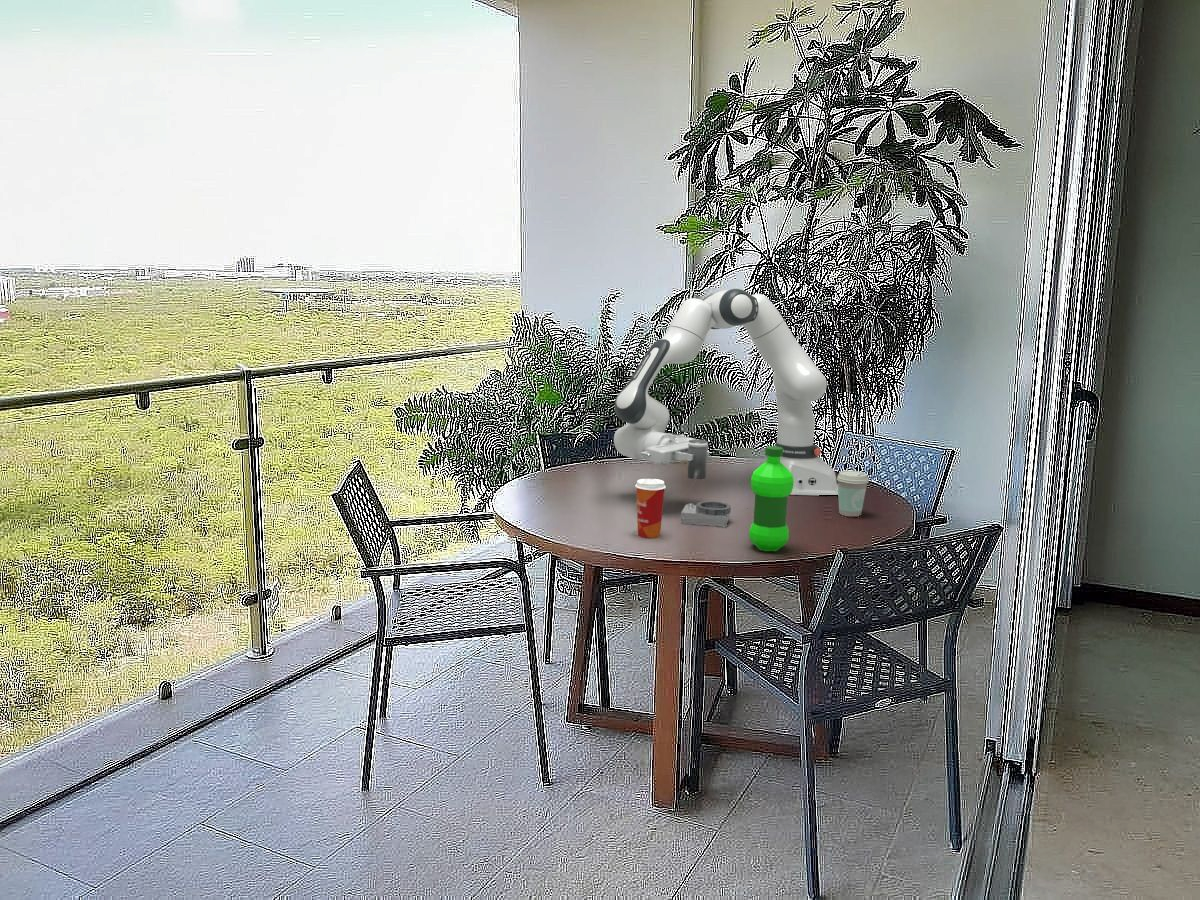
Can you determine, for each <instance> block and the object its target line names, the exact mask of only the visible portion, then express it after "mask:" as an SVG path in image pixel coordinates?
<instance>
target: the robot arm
mask: <svg viewBox="0 0 1200 900" xmlns="http://www.w3.org/2000/svg"><path fill="white" fill-rule="evenodd" d="M736 326H738V327H739V326H742V327H743V328H744V329H745V330H746V332H747V333H748V336H749V337H750V339H751V340H752V342H753V344H754V345H755V347H756V349H757V350H758V352H759V353H760V355H761V357H762V359H763V360H764V362H766V363H767V365H768V366H769V367H770V368H771V369H772V371H773V376H772V381H773V385H774V389H775V399H776V407H777V409H776V410H777V433H776V434H777V435H776V437H777V438H776V442H775V445H774V446H777V447H782V448H783V456H782V457H780V462H781V463H782V464H783V465H784V466H785V467H786V468H787V469H788V470H789V471H790V472H791V473H792V474H793V478H794V484H793V489H792V493H790V494H789V495H793V496H794V495H798V496H819V495H838V482H837V476H836V475H837V474H836V472H835V470H834V469H833V467H831V466H830V465H829V464H827V463H826V462H825V461H824V459H822V458H821V457H820V455H822V449H820V447H819V446H818V445H815V444H814V438H815V424H816V423H815V422H816V419H815V416H814V413H813V407H812V402H815V401H817V400H819V399H821V398H822V397H823V396H824V395H825V393H826V391H827V387H828V382H827V379H826V377H825V375H824V374H823V373H822V371H820V369H819V368H818V367H817V366H816V364H815V362H814V361H813V360H812V358H811V357H810V356H809V355H808V353H807V352H806V351H805V349H804V348H803V347H802V346H801V344H800V343H799V341H797V339H796V337H795V336H794V335H793V333H792V331H791V329H790V328H789V326H788V325H787V323H786V320H784V318H783V316H782V314H781V313H780V311H779V310H778V309H777V308H776V306H775V305H774V303H772V301H771V300H770V299H769V298H768V297H767V296H766V295H764V294H761V293H755V294H750V293H749V292H748V291H746V290H744V289H740V288H732V289H723V290H720V291H718V292H716V293H711V294H709V295H707V296H706V297H704V298H703V299H700V298H693V297H692V298H691V297H690V298H687V299H685V300H684V301H683V303H682V304H681V305H680V306H679V308H678V310H677V311H676V312H675V314H674V316H673V318H672V320H671V322H670V324H669V326H668V328H667V330H666V332H665V334H664V335H663V336H662V338H660V339H657V340H656V341H654V342H653V343H652V345H651V346H650V347H649V349H648V350H647V351H646V353H645V355H644V356H643V358H642V359H641V360H640V362H639V364H638V365H637V367H636V369H635V371H634V372H633V374H632V376H631V377H630V379H628V380H629V381H628V382H627V383H626V384H625V386H624V387H623V388H622V389H621V390H620V392H619V393H618V394H617V396H616V398H615V401H614V412H615V415H616V418H618V419H619V420H621V421H622V422H626V424H625V425H623V426H621V427H619V428H618V429H617V430H616V431H615V433H614V436H613V443H614V448H615V449H616V451H617V452H618V453H619V454H621V455H622V456H625V457H627V458H631V459H634V460H641V461H642V460H645V461H646V462H648V463H653V464H658V465H663V466H665V465H668V464H670V463H674V462H675V463H676V462H680V461H687V462H688V461H692V460H694V454H691V453H688V447H689V446H688V441H689V440H694V439H695V438H693V437H686V435H685V434H680V433H667V432H666V430H667V428H668V426H669V422H670V419H671V418H670V411H669V409H668V407H667V406H666V405H665V404H663V403H662V402H660V401H658V400H657V399H655V398H654V397H652V396H650V395H649V389H650V387H651V385H652V384H653V383H654V380H655V379H656V377H657V376H658V374H659V372H660V371H661V369H662V368H663V367H664V366H666V365H669V364H673V365H677V364H678V365H683V364H687V363H690V362H692V361H693V360H695V359H696V357H697V356H698V354H700V352H701V349H702V348H703V347H702V346H703V344H704V342H705V339H706V337H707V335H708V333H709V331H710V330H721V329H722V330H726V329H732V328H733V327H736ZM708 447H709V444H708V445H707V458H709V456H710V451H709V450H708Z"/></svg>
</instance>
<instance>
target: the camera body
mask: <svg viewBox="0 0 1200 900" xmlns="http://www.w3.org/2000/svg"><path fill="white" fill-rule="evenodd" d="M731 508H732V505H731V504H729V503H727V502H722V501H715V500H714V501H713V500H706V501H700V502H697V503H696V504H694V503H687V504H685V505H684V506H683V509H682V511H681V512H680V524H681V523H683V525H693V524H695V525H694V526H704V525H710V526H709V527H716V526H725V527H724V528H727V526H726V525H728V524H729V521H730V519H729V518H730V516H731V512H732V511H731V510H732V509H731ZM728 520H729V521H728ZM727 523H728V524H727Z"/></svg>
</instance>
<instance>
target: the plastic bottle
mask: <svg viewBox="0 0 1200 900" xmlns="http://www.w3.org/2000/svg"><path fill="white" fill-rule="evenodd" d="M764 448H765V449H764V451H765V452H764V456H766V461H765V462H763V463H761V464H760V466H758V467H757V468H756V469H755V470H753V473H752V475H751V478H750V490H751V491H752V492H753V493H754V495H755V496H754V508H753V509H754V510H753V511H754V512H753V522H752V523H751V525H750V527H749V533H748V537H749V539H750V541H751V542H752V544H753V546H755V547H757V549H758V548H759V549H758V550H760V549H761V550H760V551H762V550H764V551H763V552H767V551H774V552H777V551H779V550H780V549H782V548H783V547H784V546H786V544H787V543H788V541H789V538H790V529H789V527H788V524H787V511H788V509H787V507H788V497H789V495H790V493H792V489H793V484H794V478H793V474H792V473H791V472H790V471H789V470H788V469H787V468H786V467H785V466H784V465H783V464H782V463H781V462H780V457H782V456H783V448H782V447H777V446H775V445H773V446H772V445H769V446H768V445H767V446H765V447H764Z"/></svg>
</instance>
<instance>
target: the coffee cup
mask: <svg viewBox="0 0 1200 900" xmlns="http://www.w3.org/2000/svg"><path fill="white" fill-rule="evenodd" d="M836 481H837V484H838V514H839V513H840V514H842V515H845V516H859V515H861V516H862V513H863V512H862V511H863V506H864V501H865V496H866V491H867V485H868V483H869V482H870V481H869V477H868V473H866V472H863V471H858V470H842V471H841V470H840V471H839V473H838V475H837V476H836Z"/></svg>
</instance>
